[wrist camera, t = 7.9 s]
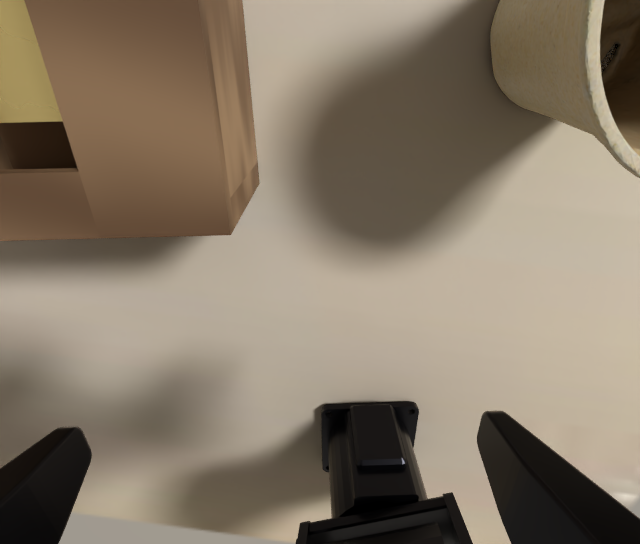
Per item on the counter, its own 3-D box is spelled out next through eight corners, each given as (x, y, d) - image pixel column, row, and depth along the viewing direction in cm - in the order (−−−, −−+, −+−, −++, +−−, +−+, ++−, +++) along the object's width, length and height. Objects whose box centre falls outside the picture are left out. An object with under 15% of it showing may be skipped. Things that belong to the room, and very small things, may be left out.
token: (139, 112, 15) (68, 121, 11) (82, 114, 15) (-12, 123, 11) (100, -55, 13) (-12, -135, 8) (33, -54, 13) (-116, -133, 8)
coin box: (259, 183, 17) (230, 235, 11) (8, 189, 17) (-166, 245, 11) (225, -181, 12) (129, -489, 6) (-144, -178, 12) (-673, -493, 5)
